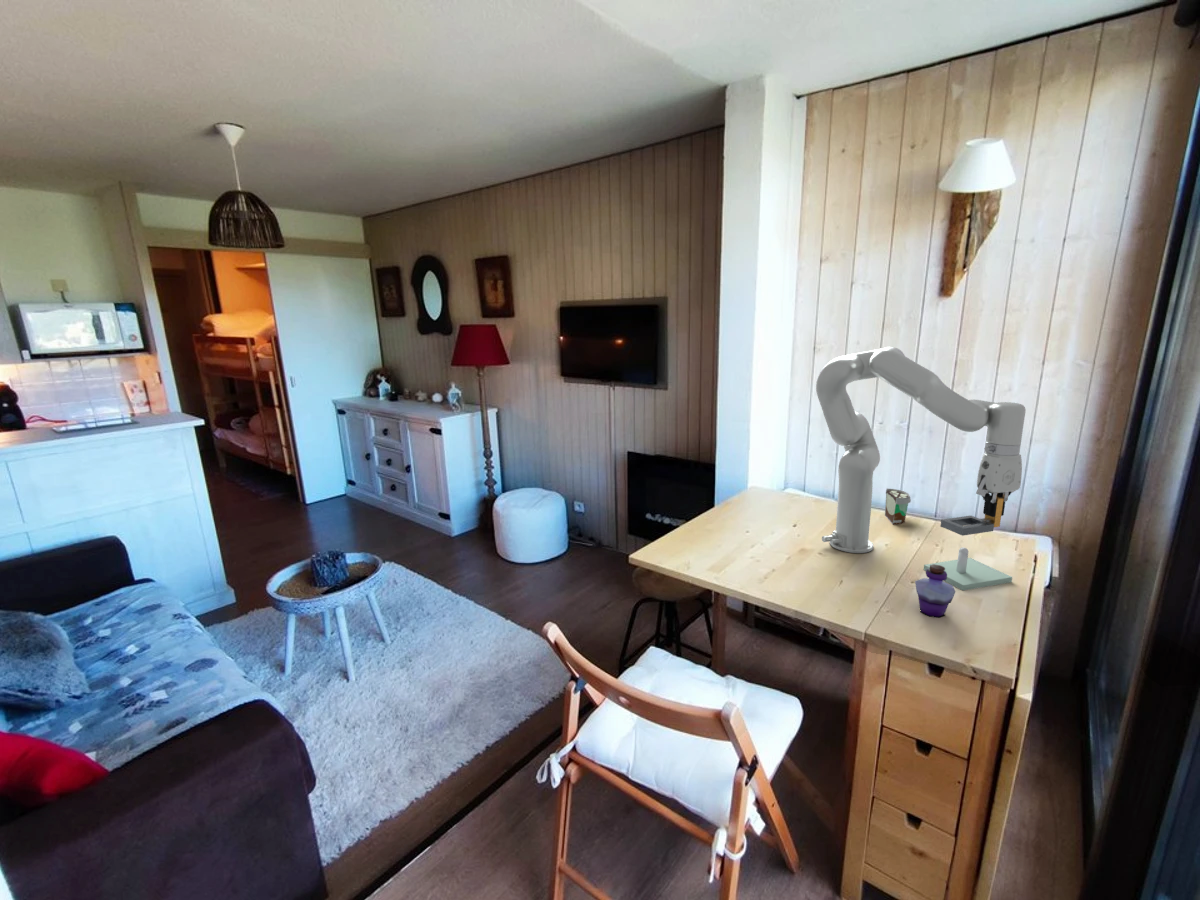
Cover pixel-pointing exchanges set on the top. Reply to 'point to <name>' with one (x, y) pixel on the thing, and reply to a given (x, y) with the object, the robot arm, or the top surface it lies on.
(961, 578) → the plate
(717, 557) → the top surface
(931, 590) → the potion bottle
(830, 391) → the robot arm
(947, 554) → the top surface
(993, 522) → the grey square frame
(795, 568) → the top surface
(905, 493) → the food container
